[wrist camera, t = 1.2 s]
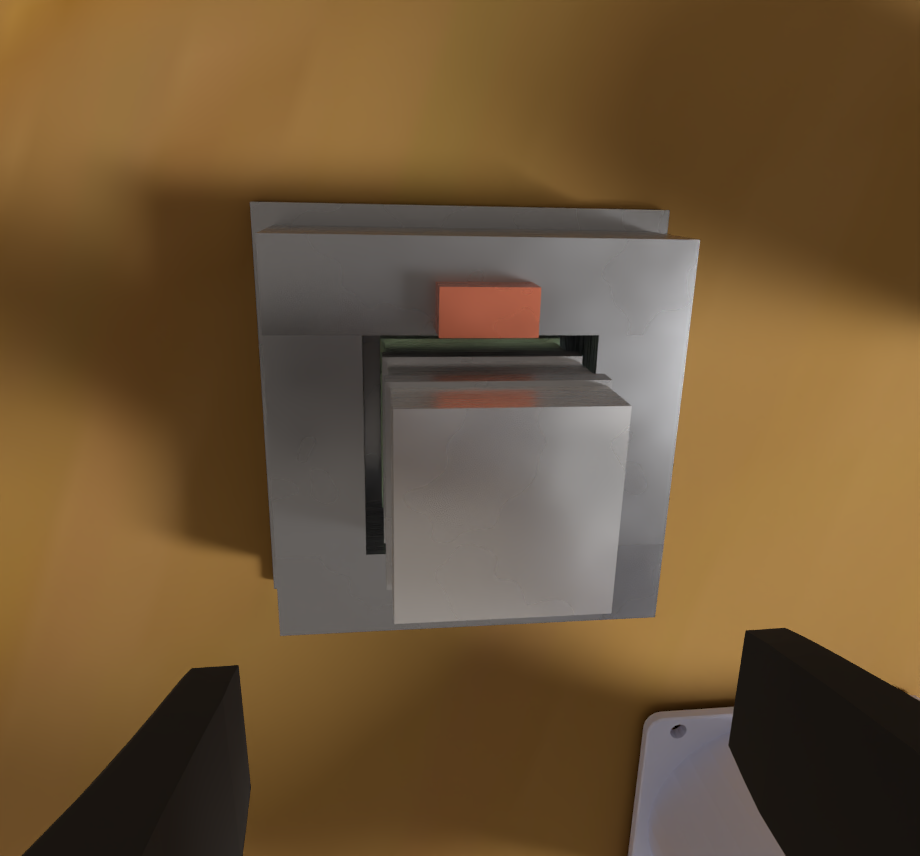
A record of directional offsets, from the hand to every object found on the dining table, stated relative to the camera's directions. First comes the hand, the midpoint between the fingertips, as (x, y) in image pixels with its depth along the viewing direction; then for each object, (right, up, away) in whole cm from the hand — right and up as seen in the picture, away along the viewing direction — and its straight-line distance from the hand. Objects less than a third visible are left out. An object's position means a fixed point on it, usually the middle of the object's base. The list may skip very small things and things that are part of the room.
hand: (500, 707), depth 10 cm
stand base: (-1, +4, +9) cm, 10 cm away
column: (-1, +4, +9) cm, 10 cm away
